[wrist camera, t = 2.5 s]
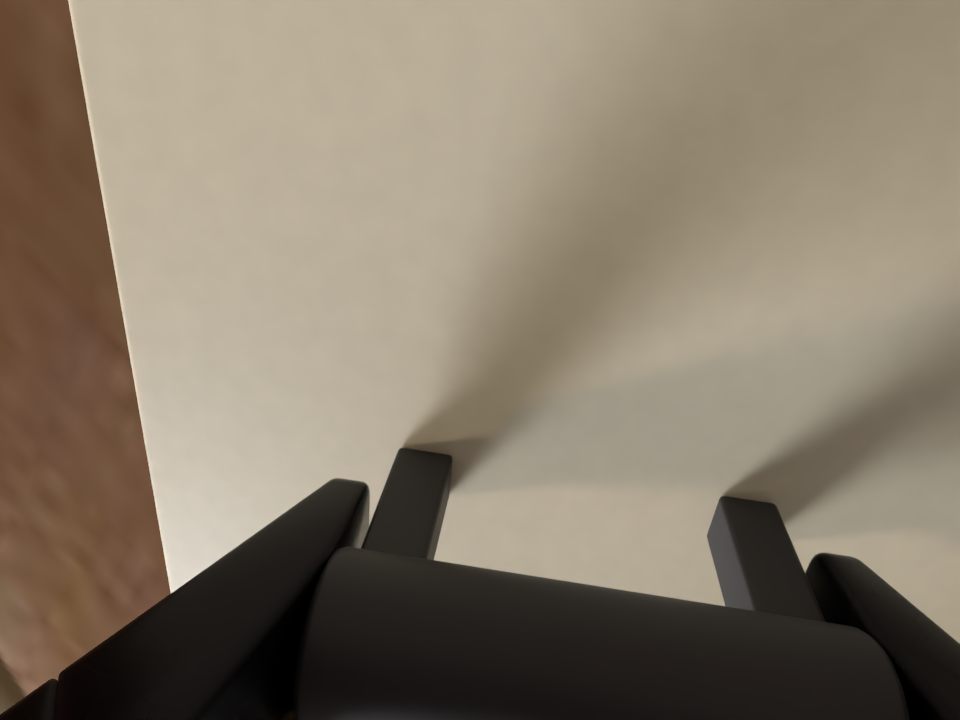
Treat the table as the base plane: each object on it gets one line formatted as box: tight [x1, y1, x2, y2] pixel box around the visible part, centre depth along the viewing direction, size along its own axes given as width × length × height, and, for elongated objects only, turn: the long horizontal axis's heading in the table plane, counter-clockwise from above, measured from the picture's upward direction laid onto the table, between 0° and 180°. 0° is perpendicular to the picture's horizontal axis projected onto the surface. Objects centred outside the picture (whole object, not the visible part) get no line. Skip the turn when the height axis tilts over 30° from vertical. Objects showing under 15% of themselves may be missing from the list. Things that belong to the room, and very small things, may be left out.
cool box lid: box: [68, 0, 960, 720], centre depth 6 cm, size 13×12×4 cm
